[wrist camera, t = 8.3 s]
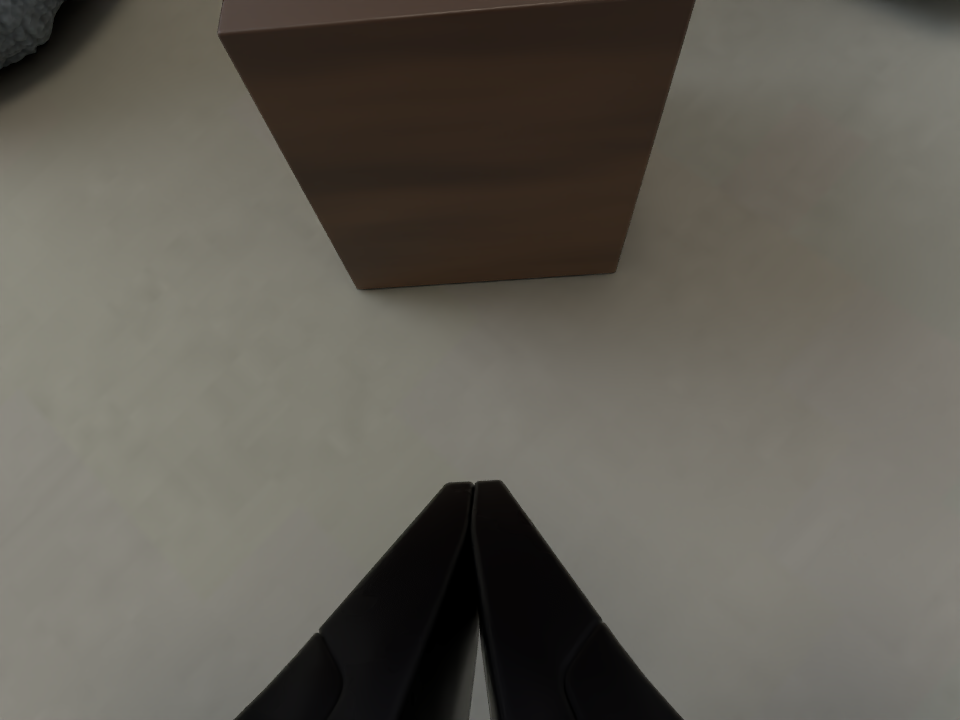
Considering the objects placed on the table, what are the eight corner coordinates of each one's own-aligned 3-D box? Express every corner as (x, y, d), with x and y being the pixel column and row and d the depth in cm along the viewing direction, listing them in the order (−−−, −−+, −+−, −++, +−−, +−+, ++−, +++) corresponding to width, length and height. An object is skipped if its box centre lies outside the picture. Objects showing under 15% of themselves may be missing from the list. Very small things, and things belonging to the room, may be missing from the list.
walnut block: (616, 273, 18) (700, -9, 9) (357, 290, 18) (215, 34, 10) (588, 76, 21) (633, -272, 12) (366, 95, 21) (263, -231, 13)
